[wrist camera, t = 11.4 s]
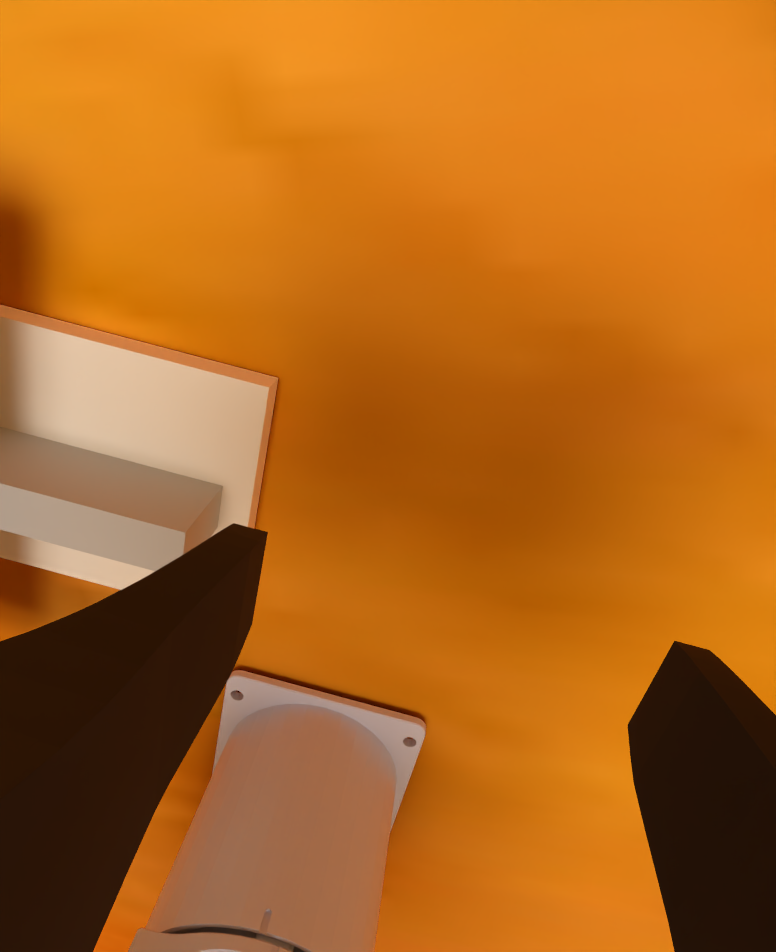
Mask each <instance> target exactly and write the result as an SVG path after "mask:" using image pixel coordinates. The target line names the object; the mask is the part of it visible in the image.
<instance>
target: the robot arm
mask: <svg viewBox="0 0 776 952" xmlns="http://www.w3.org/2000/svg"><path fill="white" fill-rule="evenodd" d="M267 533H268V532H265V531H261V530H257V529H254V528H250V527H246V526H242V525H239V524H235V523H233V524H231V525H229V526H228V527H226V528H224V529H223V530H221V531H219V532H218V533H216V534H215V535H213V536H212V537H210V538H208V539H207V540H205V541H204V542H202V543H201V544H199V545H198V546H196V547H194V548H193V549H191V550H190V551H188V552H186V553H185V554H183V555H182V556H180V557H178V558H177V559H175V560H173V561H172V562H170V563H168V564H167V565H165V566H163V567H161V568H160V569H158V570H156V571H155V572H153V573H151V574H150V575H148V576H146V577H144V578H143V579H141V580H139V581H137V582H135V583H133V584H131V585H130V586H128V587H126V588H124V589H122V590H120V591H118V592H116V593H114V594H112V595H110V596H109V597H107V598H105V599H103V600H101V601H99V602H97V603H95V604H93V605H91V606H89V607H86V608H84V609H82V610H80V611H78V612H75V613H73V614H71V615H69V616H66V617H64V618H61V619H59V620H56V621H54V622H52V623H49V624H47V625H44V626H42V627H40V628H37V629H34V630H32V631H29V632H27V633H24V634H21V635H18V636H15V637H12V638H9V639H6V640H3V641H0V952H93V950H94V948H95V945H96V943H97V941H98V938H99V936H100V934H101V932H102V929H103V927H104V925H105V922H106V920H107V918H108V915H109V913H110V911H111V909H112V906H113V904H114V902H115V899H116V897H117V895H118V893H119V890H120V888H121V886H122V883H123V881H124V879H125V876H126V874H127V872H128V870H129V867H130V865H131V863H132V861H133V859H134V856H135V854H136V852H137V850H138V847H139V845H140V843H141V841H142V839H143V836H144V834H145V832H146V830H147V827H148V825H149V823H150V821H151V819H152V816H153V814H154V812H155V810H156V808H157V806H158V804H159V802H160V800H161V798H162V796H163V795H164V793H165V791H166V789H167V787H168V785H169V783H170V781H171V780H172V778H173V776H174V774H175V773H176V771H177V769H178V767H179V765H180V764H181V762H182V760H183V758H184V757H185V755H186V753H187V751H188V750H189V748H190V746H191V744H192V743H193V741H194V739H195V737H196V736H197V734H198V732H199V730H200V729H201V727H202V725H203V723H204V721H205V720H206V718H207V716H208V714H209V713H210V711H211V709H212V707H213V706H214V704H215V702H216V700H217V698H218V697H219V695H220V693H221V691H222V689H223V688H224V686H225V684H226V689H225V695H224V702H223V708H222V714H221V721H220V727H219V734H218V740H217V746H216V753H215V759H214V765H213V772H212V777H211V779H210V781H209V784H208V786H207V788H206V791H205V793H204V795H203V797H202V800H201V802H200V804H199V807H198V809H197V811H196V813H195V816H194V818H193V820H192V823H191V825H190V827H189V829H188V832H187V834H186V836H185V839H184V841H183V843H182V845H181V848H180V850H179V852H178V855H177V857H176V859H175V861H174V864H173V866H172V868H171V870H170V873H169V875H168V877H167V880H166V882H165V884H164V886H163V889H162V891H161V893H160V896H159V898H158V900H157V902H156V905H155V907H154V909H153V912H152V914H151V916H150V918H149V921H148V923H147V925H146V928H140V929H138V930H137V933H136V935H135V937H134V939H133V942H132V944H131V946H130V948H129V951H128V952H374V948H375V941H376V933H377V926H378V918H379V911H380V903H381V896H382V888H383V881H384V873H385V866H386V858H387V850H388V843H389V835H390V832H391V829H392V826H393V823H394V821H395V818H396V815H397V812H398V810H399V807H400V804H401V801H402V799H403V796H404V793H405V790H406V788H407V785H408V782H409V779H410V777H411V774H412V771H413V768H414V765H415V763H416V760H417V757H418V754H419V752H420V749H421V746H422V743H423V741H424V738H425V733H426V725H425V722H423V721H422V720H421V719H419V718H417V717H413V716H410V715H406V714H402V713H399V712H395V711H391V710H387V709H384V708H380V707H376V706H373V705H369V704H365V703H361V702H358V701H354V700H350V699H347V698H343V697H339V696H336V695H332V694H328V693H324V692H321V691H317V690H313V689H310V688H306V687H302V686H298V685H295V684H291V683H287V682H284V681H280V680H276V679H273V678H269V677H265V676H261V675H258V674H254V673H250V672H247V671H243V670H236V671H233V668H234V666H235V664H236V661H237V659H238V657H239V654H240V652H241V649H242V647H243V645H244V642H245V640H246V637H247V635H248V632H249V630H250V627H251V625H252V621H253V615H254V609H255V603H256V597H257V591H258V586H259V580H260V574H261V568H262V562H263V556H264V551H265V545H266V539H267ZM232 671H233V672H232ZM235 690H237V691H240V692H241V693H238V692H236V691H235ZM628 733H629V745H630V756H631V764H632V772H633V780H634V785H635V790H636V794H637V798H638V803H639V807H640V811H641V815H642V819H643V823H644V827H645V831H646V835H647V839H648V843H649V847H650V851H651V855H652V859H653V863H654V867H655V871H656V875H657V879H658V883H659V887H660V891H661V895H662V899H663V903H664V906H665V910H666V914H667V918H668V922H669V927H670V932H671V937H672V941H673V946H674V951H675V952H776V715H775V714H774V713H773V712H772V711H771V710H770V709H769V708H768V707H767V706H766V705H765V704H764V703H763V702H762V701H761V700H760V699H759V698H758V697H757V696H756V695H755V693H754V692H753V691H752V690H751V689H750V688H749V687H748V686H747V685H746V684H745V683H744V682H743V681H742V680H741V679H740V678H739V677H738V676H737V675H736V674H735V673H734V672H733V671H732V670H731V669H730V668H729V667H728V666H727V665H725V664H724V663H723V662H722V661H721V660H720V659H719V658H718V657H717V656H716V655H714V654H713V653H712V652H711V651H710V650H707V649H703V648H699V647H696V646H692V645H688V644H684V643H681V642H677V641H674V643H673V645H672V646H671V648H670V650H669V652H668V654H667V655H666V657H665V659H664V661H663V663H662V664H661V666H660V668H659V670H658V672H657V673H656V675H655V677H654V679H653V681H652V682H651V684H650V686H649V688H648V690H647V691H646V693H645V695H644V697H643V699H642V700H641V702H640V704H639V706H638V707H637V709H636V711H635V713H634V715H633V716H632V718H631V720H630V722H629V724H628ZM407 737H411V738H413V739H408V738H407Z"/></svg>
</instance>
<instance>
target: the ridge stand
mask: <svg viewBox="0 0 776 952" xmlns="http://www.w3.org/2000/svg"><path fill="white" fill-rule="evenodd" d="M277 384H278V378H277V377H273V376H270V375H266V374H262V373H258V372H254V371H251V370H247V369H243V368H239V367H235V366H232V365H228V364H224V363H220V362H217V361H213V360H209V359H205V358H201V357H198V356H194V355H190V354H186V353H182V352H179V351H175V350H171V349H167V348H163V347H160V346H156V345H152V344H148V343H145V342H141V341H137V340H133V339H129V338H126V337H122V336H118V335H114V334H110V333H107V332H103V331H99V330H95V329H91V328H88V327H84V326H80V325H76V324H73V323H69V322H65V321H61V320H57V319H54V318H50V317H46V316H42V315H38V314H35V313H31V312H27V311H23V310H19V309H16V308H12V307H8V306H4V305H0V557H1V558H4V559H8V560H12V561H15V562H19V563H23V564H27V565H30V566H34V567H38V568H41V569H45V570H49V571H53V572H56V573H60V574H64V575H67V576H71V577H75V578H79V579H82V580H86V581H90V582H94V583H97V584H101V585H105V586H108V587H112V588H116V589H120V590H122V589H124V588H126V587H128V586H130V585H131V584H133V583H135V582H137V581H139V580H141V579H143V578H144V577H146V576H148V575H150V574H151V573H153V572H155V571H156V570H158V569H160V568H161V567H163V566H165V565H167V564H168V563H170V562H172V561H173V560H175V559H177V558H178V557H180V556H182V555H183V554H185V553H186V552H188V551H190V550H191V549H193V548H194V547H196V546H198V545H199V544H201V543H202V542H204V541H205V540H207V539H208V538H210V537H212V536H213V535H215V534H216V533H218V532H219V531H221V530H223V529H224V528H226V527H228V526H229V525H231V524H233V523H235V524H239V525H242V526H246V527H250V528H255V521H256V515H257V509H258V503H259V496H260V490H261V484H262V478H263V471H264V465H265V459H266V453H267V446H268V440H269V434H270V428H271V421H272V415H273V409H274V403H275V396H276V390H277Z"/></svg>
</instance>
